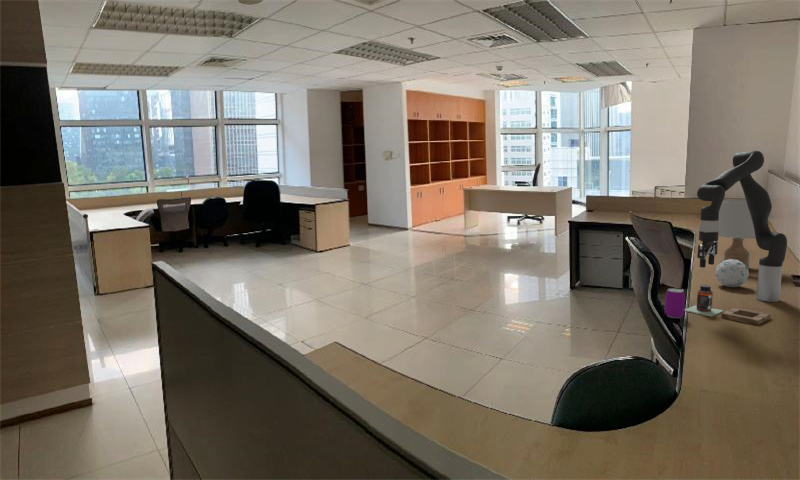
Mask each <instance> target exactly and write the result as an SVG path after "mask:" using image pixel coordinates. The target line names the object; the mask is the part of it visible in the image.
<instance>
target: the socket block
mask: <svg viewBox="0 0 800 480" xmlns="http://www.w3.org/2000/svg"><path fill="white" fill-rule="evenodd" d="M720 315H721V316H720V318H721V319H727V320H731V321H734V322H735V321H737V322H741V323H745V324H751V325H754V326H758V325H761V324H763V323H764V322H767V321H768V320H770V319H771V315H772V314H771V313H766V312H762V311H761V312H760V311H757V310H751V309H746V308H741V307H735V306H734V307H732V308H731V309H730V308H729V309H728V310H725V311H724V312H722V313H720Z"/></svg>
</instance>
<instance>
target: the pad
mask: <svg viewBox="0 0 800 480" xmlns="http://www.w3.org/2000/svg"><path fill="white" fill-rule="evenodd" d="M684 312H687V313H690V312H691V314H695V315H700V314H701V315H700V316H705V315H706V316H707V317H709V316H710V318H712V317H714V316H717V315H719V314H720V315H721V313H723V312H725V311H724V310H723V309H716V308H713V307H712V309H711V311H700V310H698V309H697V304H695V305H693V306H689V307H688V308H684ZM706 316H705V317H706Z"/></svg>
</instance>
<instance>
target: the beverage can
mask: <svg viewBox="0 0 800 480" xmlns="http://www.w3.org/2000/svg"><path fill="white" fill-rule="evenodd" d="M685 305H686V295H685V291H684V289H682V288H674V287H673V288H671V287H670V288H667V290H666V293H665V298H664V314H665V313H666V315H667V316H666V315H665V316H666V317H668V318H672V319H682V318H683V317H684V316H685V311H684V310H685V309H686V308H685V307H686V306H685Z"/></svg>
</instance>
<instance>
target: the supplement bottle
mask: <svg viewBox="0 0 800 480" xmlns="http://www.w3.org/2000/svg"><path fill="white" fill-rule="evenodd" d="M699 288H700V289H698V290H697V297H696V305H697V309H698V310H700V311H711V309H712V308H713V296H714V295H713V294H714V293H713V291H712V290H711V288H712V287H711V285H708V284H701V285H700V287H699Z"/></svg>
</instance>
